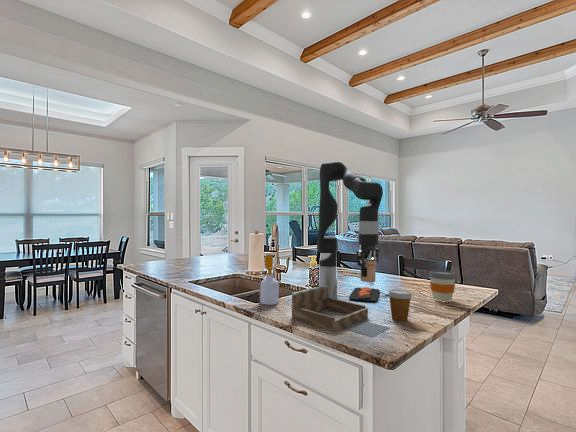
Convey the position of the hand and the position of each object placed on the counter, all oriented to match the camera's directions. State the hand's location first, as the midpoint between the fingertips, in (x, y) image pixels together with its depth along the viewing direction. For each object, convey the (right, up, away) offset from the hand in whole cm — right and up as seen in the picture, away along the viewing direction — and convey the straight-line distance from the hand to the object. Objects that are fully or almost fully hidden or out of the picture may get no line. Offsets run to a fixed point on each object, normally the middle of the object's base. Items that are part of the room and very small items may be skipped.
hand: (368, 275), depth 125 cm
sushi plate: (+19, -22, +51) cm, 58 cm away
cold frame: (-13, -21, +12) cm, 27 cm away
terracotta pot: (0, -2, 0) cm, 2 cm away
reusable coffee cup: (+51, -22, +45) cm, 71 cm away
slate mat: (0, -21, 0) cm, 21 cm away
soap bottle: (-41, -21, +36) cm, 58 cm away
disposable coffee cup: (+16, -21, +12) cm, 29 cm away
